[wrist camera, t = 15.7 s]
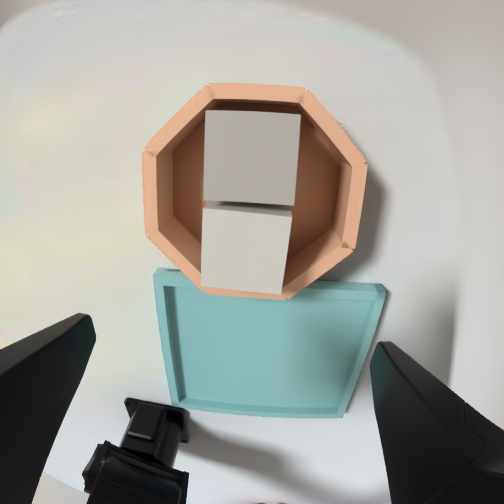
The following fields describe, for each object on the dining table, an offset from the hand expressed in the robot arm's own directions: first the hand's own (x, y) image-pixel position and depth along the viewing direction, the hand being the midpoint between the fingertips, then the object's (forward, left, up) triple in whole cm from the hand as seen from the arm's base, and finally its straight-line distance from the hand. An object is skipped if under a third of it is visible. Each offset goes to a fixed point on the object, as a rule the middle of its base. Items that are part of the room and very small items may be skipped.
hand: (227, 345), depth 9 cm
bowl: (+2, 0, -12) cm, 12 cm away
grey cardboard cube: (0, 0, -11) cm, 11 cm away
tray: (-11, -1, -12) cm, 16 cm away
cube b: (+5, 0, -11) cm, 12 cm away
